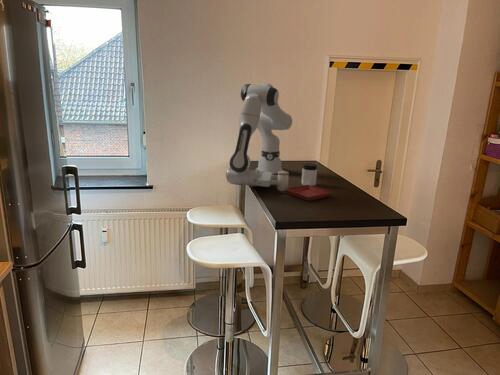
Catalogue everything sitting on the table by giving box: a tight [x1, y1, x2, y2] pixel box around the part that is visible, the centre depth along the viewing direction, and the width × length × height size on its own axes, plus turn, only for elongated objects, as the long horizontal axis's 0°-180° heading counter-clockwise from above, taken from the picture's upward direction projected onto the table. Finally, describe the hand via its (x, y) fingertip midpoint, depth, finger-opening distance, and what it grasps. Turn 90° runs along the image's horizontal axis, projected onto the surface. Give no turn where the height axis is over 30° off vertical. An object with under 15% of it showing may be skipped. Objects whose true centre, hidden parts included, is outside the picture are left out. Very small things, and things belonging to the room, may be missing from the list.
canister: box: [276, 170, 290, 192], centre depth 217 cm, size 6×6×10 cm
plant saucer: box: [285, 184, 332, 201], centre depth 209 cm, size 18×18×3 cm
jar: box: [300, 162, 318, 187], centre depth 231 cm, size 9×8×12 cm
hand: (279, 179), depth 217 cm, fingers open, 8 cm apart
